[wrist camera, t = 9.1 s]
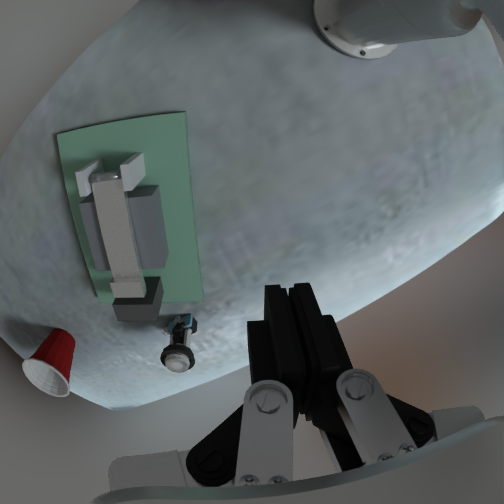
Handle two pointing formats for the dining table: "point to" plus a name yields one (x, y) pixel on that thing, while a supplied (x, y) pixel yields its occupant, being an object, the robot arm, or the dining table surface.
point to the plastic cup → (52, 364)
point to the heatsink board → (158, 172)
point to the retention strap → (118, 234)
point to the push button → (179, 344)
